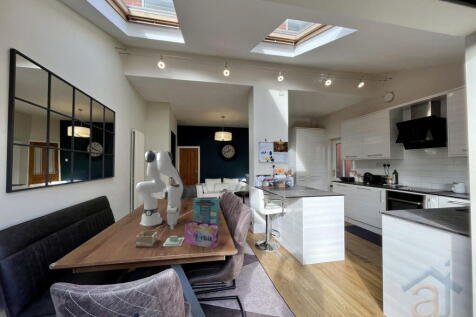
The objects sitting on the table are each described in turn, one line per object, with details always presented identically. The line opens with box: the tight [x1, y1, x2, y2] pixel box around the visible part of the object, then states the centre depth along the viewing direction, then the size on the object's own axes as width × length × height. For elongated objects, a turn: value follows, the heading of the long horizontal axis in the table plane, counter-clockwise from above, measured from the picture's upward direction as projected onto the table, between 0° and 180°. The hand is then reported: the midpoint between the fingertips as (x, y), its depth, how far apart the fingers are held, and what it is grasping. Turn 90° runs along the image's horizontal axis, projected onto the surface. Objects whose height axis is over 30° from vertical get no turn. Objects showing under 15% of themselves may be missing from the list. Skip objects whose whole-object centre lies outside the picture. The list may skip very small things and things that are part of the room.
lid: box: [164, 235, 183, 245], centre depth 136 cm, size 10×9×4 cm
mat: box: [162, 236, 185, 247], centre depth 136 cm, size 14×12×1 cm
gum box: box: [184, 220, 220, 249], centre depth 134 cm, size 24×8×14 cm, turn 68°
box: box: [135, 229, 159, 248], centre depth 134 cm, size 12×10×7 cm
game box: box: [192, 197, 220, 234], centre depth 157 cm, size 20×6×27 cm, turn 84°
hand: (173, 226), depth 136 cm, fingers open, 8 cm apart
